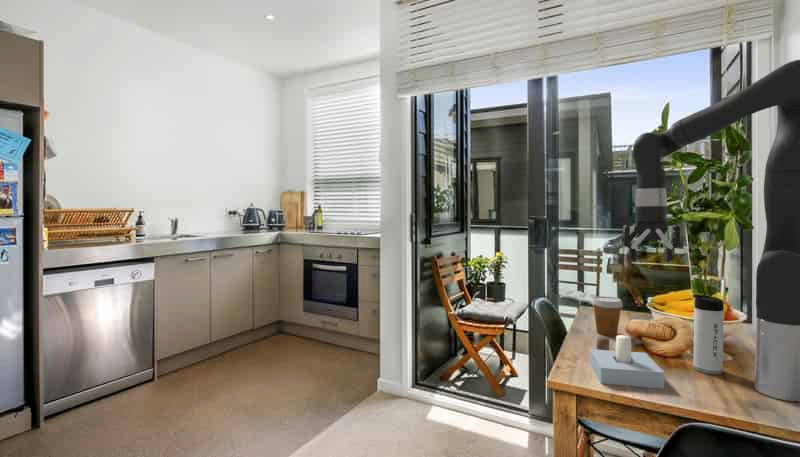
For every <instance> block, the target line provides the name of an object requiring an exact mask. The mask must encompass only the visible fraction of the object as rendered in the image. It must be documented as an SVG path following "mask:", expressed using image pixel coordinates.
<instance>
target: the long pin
mask: <svg viewBox="0 0 800 457" xmlns="http://www.w3.org/2000/svg"><path fill="white" fill-rule="evenodd" d="M615 336H616V337H615V338H616V340H615V341H616V342H615V343H616V345H615V351H616V362H617V363H630V364H631V352H632V337H631V336H629V335H622V334H617V335H615Z"/></svg>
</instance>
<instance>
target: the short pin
mask: <svg viewBox="0 0 800 457" xmlns="http://www.w3.org/2000/svg"><path fill="white" fill-rule="evenodd" d="M596 350H610V338H609V337H606V336H596Z"/></svg>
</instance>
